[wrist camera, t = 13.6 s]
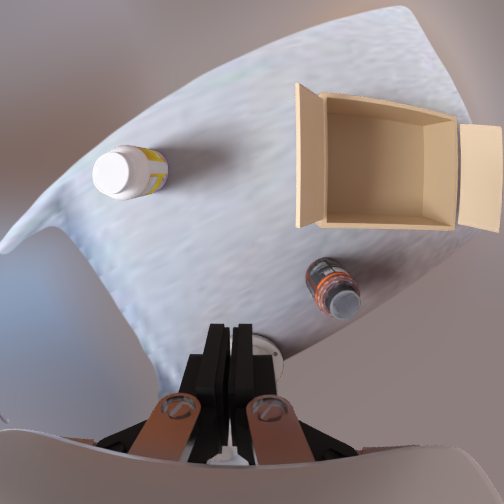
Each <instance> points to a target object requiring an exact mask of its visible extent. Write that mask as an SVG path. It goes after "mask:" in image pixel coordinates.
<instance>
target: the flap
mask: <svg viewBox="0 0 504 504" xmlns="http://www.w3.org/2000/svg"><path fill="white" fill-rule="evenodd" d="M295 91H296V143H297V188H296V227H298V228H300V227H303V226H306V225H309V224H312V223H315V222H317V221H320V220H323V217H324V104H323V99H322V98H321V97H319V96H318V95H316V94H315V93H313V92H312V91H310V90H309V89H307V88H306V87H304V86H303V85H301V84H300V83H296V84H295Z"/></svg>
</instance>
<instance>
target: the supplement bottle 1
mask: <svg viewBox="0 0 504 504" xmlns="http://www.w3.org/2000/svg"><path fill="white" fill-rule="evenodd" d="M167 177H168V164H167V162H166V160H165V158H164V157H163V156H162V155H161V154H160V153H159V152H157V151H155V150H151V149H146V148H141V147H136V146H131V145H121V146H118V147H115V148H113V149H112V150H110V151H109V152H108V153H105V154H103V155H102V156H101V157H100V158H99V159H98V160H97V161H96V163H95V165H94V168H93V181H94V184H95V186H96V187H97V189H98V190H99V191H100V192H102V193H104V194H108V195H109V196H110V197H112V198H114V199H117V200H129V199H133V198H137V197H141V196H145V195H149V194H152V193H155V192H157V191H158V190H159V189H161V188H162V187H163V185H164V184H165V182H166V180H167Z"/></svg>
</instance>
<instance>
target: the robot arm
mask: <svg viewBox="0 0 504 504" xmlns="http://www.w3.org/2000/svg"><path fill="white" fill-rule="evenodd" d="M283 367H284V364H283V357H282V354H281V352H280V350H279V349H278V347H277V346H276V345H275V344H274V343H273V342H271V341H270V340H268V339H266V338H264V337H262V336H259V335H254V334H252V324H239V327H233V336H231V337H230V329H229V327H224V324H210V327H209V331H208V335H207V339H206V344H205V348H204V352H203V354H190V356H189V359H188V362H187V366H186V369H185V372H184V376H183V379H182V382H181V386H180V389H179V392H178V393H173V394H169V395H166V396H165V397H163V398H161V399H160V400H159V402H158V403H157V405H156V406H155V408H154V410H153V411H152V413H151V415H150V417H149V418H148V419H147V420H145V421H143V422H141V423H138V424H136V425H134V426H132V427H129V428H127V429H125V430H123V431H120V432H118V433H115V434H113V435H110V436H108V437H106V438H104V439H102V440H100V441H99V442H98V443H97V442H95V441H94V439H80V438H69V437H58V436H54V435H51V434H47V433H42V432H38V431H32V430H26V429H5V430H0V504H504V503H503V501H502V499H501V497H500V496H499V494H498V492H497V490H496V489H495V487H494V486H493V484H492V483H491V481H490V479H489V478H488V476H487V475H486V473H485V472H484V471H483V469H482V468H481V467H480V465H479V464H478V463H477V462H476V461H475V460H474V459H473V458H472V457H471V456H470V455H469V454H468V453H467V452H465V451H463V450H462V449H459V448H456V447H451V446H444V445H423V446H420V445H406V446H391V447H363V448H362V450H354V448H352V447H351V446H349V445H347V444H345V443H343V442H341V441H339V440H337V439H335V438H332V437H330V436H329V435H326V434H324V433H323V432H321V431H319V430H317V429H314V428H313V427H311V426H309V425H307V424H305V423H303V422H301V421H300V420H298V418H297V416H296V414H295V411H294V409H293V407H292V405H291V403H290V402H289V401H288V400H287V399H285V398H283V397H281V396H278V390H277V381H278V379H279V378H280V377H281V374H282V372H283ZM215 455H216V456H217V457H218V459H219V460H220V461H216V460H214V461H211V460H210V459H211V458H212V457H214V456H215Z"/></svg>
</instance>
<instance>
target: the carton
mask: <svg viewBox="0 0 504 504" xmlns="http://www.w3.org/2000/svg"><path fill="white" fill-rule="evenodd" d="M318 96H319V97H321V98H322V99H323V104H324V217H323V220H320V221H317V222H315V223H316V224H317V225H318V226H320V227H321V228H372V229H416V230H448V231H454V229H455V219H456V207H457V189H458V135H457V118H456V117H454V116H451V115H447V114H444V113H440V112H436V111H432V110H428V109H424V108H420V107H415V106H411V105H406V104H401V103H396V102H391V101H386V100H380V99H374V98H368V97H361V96H354V95H346V94H337V93H327V92H321V93H320V94H319V95H318Z"/></svg>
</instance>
